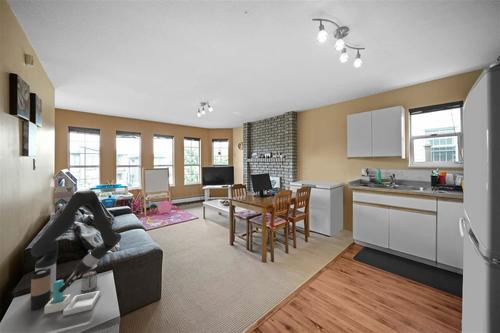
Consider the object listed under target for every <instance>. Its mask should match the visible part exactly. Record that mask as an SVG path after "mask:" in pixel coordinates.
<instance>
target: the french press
mask: <svg viewBox="0 0 500 333" xmlns="http://www.w3.org/2000/svg"><path fill="white" fill-rule="evenodd" d="M91 251H92V249H89V250H87V253H88V254H89V253H90V252H91ZM97 267H98V264H96V265H95V266H94V267H93V268H92V269H91V270H90V271H89V272H88V273H82V274H81V279H80V280H81V282H80V283H81V291H84V292H85V291H86V292H87V291H90V290H93V289H94V288H96V287H97V286H98V273H97V271H96V270H94V269H96V268H97Z"/></svg>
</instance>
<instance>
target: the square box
mask: <svg viewBox="0 0 500 333" xmlns="http://www.w3.org/2000/svg"><path fill="white" fill-rule="evenodd" d="M71 301H72V293H69V294H65V295H64V294H63V302H59V303H54V304H53V297H52V298H50V301H49V302H48V303H47V304H46V305H45V307H44V315H47V314H52V313H57V312H61V311H64V309H65V308H66V307H67V306H68V304H69V303H70V302H71Z"/></svg>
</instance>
